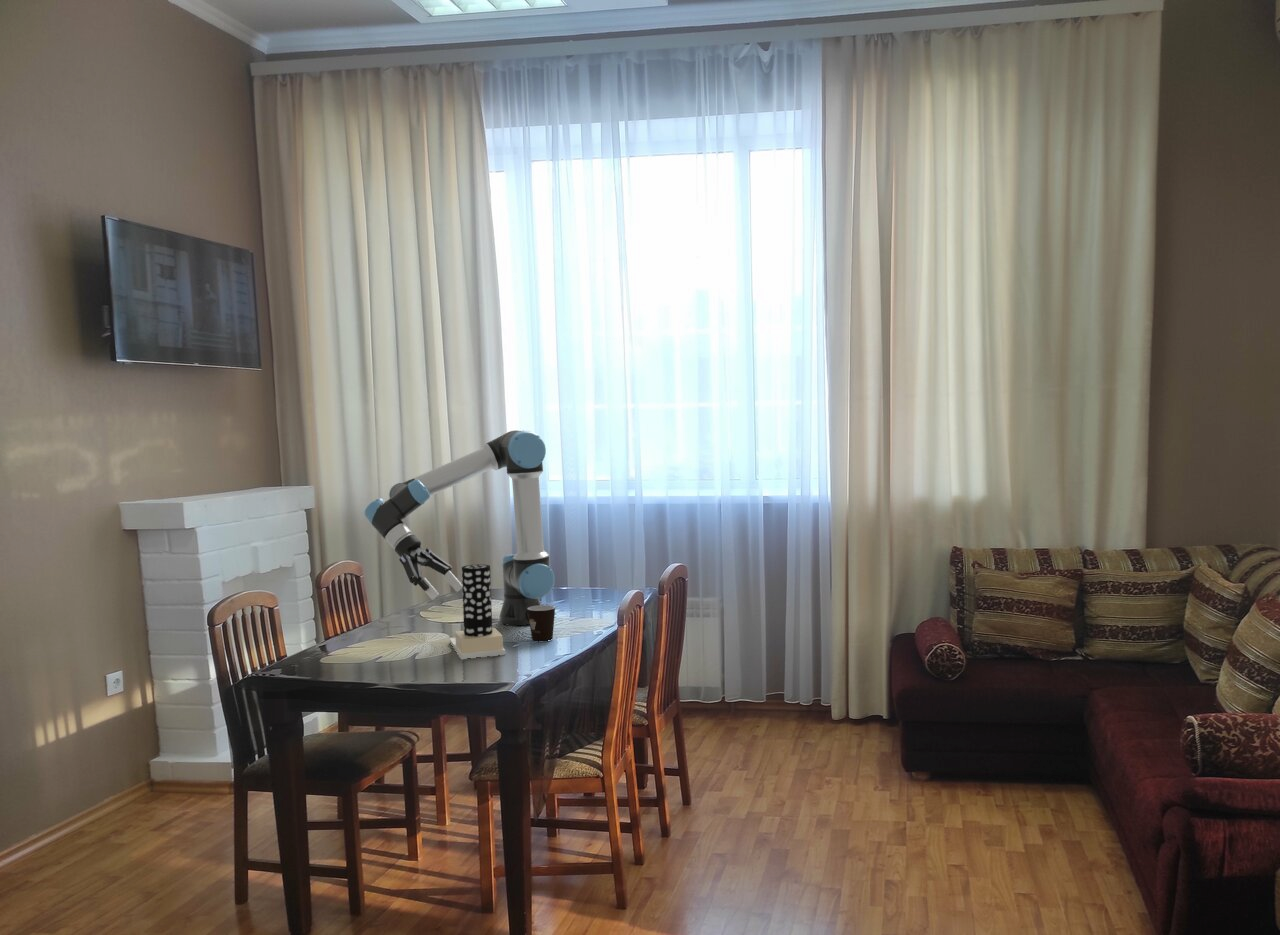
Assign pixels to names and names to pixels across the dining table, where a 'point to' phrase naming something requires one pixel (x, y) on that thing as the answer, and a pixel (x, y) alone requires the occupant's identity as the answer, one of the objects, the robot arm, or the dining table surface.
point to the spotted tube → (477, 600)
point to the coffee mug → (541, 622)
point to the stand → (478, 645)
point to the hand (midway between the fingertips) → (448, 593)
